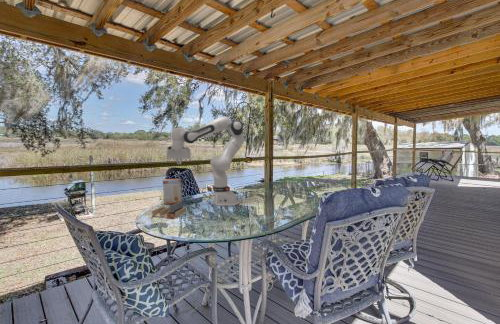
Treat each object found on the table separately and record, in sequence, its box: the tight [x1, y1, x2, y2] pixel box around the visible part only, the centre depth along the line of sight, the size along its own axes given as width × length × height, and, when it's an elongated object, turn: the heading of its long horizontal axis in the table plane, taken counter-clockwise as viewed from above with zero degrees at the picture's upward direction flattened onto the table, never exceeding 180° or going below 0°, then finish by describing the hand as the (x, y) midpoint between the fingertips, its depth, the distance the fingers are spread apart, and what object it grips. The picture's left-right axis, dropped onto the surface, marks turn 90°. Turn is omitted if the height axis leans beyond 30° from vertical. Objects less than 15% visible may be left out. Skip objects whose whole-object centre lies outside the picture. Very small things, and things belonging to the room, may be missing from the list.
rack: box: [151, 205, 188, 220], centre depth 203 cm, size 19×17×4 cm
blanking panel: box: [169, 201, 184, 216], centre depth 201 cm, size 3×12×7 cm, turn 163°
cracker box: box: [162, 178, 183, 205], centre depth 236 cm, size 14×6×21 cm, turn 84°
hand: (179, 164), depth 227 cm, fingers closed
